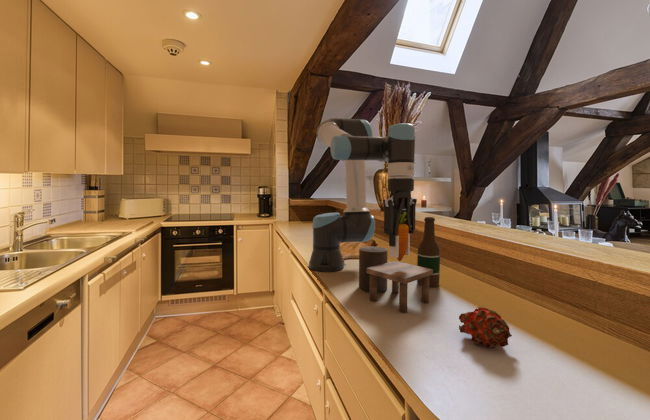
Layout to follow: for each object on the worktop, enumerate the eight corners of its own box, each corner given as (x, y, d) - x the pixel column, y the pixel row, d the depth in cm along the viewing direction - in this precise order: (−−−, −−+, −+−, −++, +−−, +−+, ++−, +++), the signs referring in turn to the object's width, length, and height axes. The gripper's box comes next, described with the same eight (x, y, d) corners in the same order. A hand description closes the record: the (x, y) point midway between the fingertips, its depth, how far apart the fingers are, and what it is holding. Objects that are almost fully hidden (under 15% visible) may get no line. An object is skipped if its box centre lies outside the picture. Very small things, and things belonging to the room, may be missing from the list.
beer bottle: (436, 281, 111) (438, 216, 109) (442, 288, 104) (444, 218, 102) (414, 280, 112) (416, 216, 110) (419, 287, 104) (420, 218, 103)
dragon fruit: (509, 366, 61) (460, 346, 72) (528, 334, 64) (478, 320, 75) (489, 337, 60) (442, 321, 70) (509, 305, 63) (461, 295, 74)
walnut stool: (366, 299, 93) (366, 268, 92) (394, 289, 102) (394, 260, 101) (404, 314, 82) (404, 278, 82) (432, 302, 91) (433, 269, 91)
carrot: (387, 260, 93) (388, 211, 91) (401, 258, 94) (401, 210, 93) (397, 263, 88) (398, 212, 87) (411, 262, 90) (412, 211, 89)
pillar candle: (364, 294, 98) (364, 248, 97) (355, 284, 108) (355, 243, 107) (392, 291, 100) (392, 247, 99) (380, 282, 110) (381, 241, 109)
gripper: (392, 177, 81) (391, 262, 83) (428, 178, 92) (427, 253, 94) (370, 177, 87) (370, 257, 88) (407, 178, 98) (406, 249, 100)
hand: (399, 255), depth 91 cm, fingers closed on carrot, 5 cm apart
